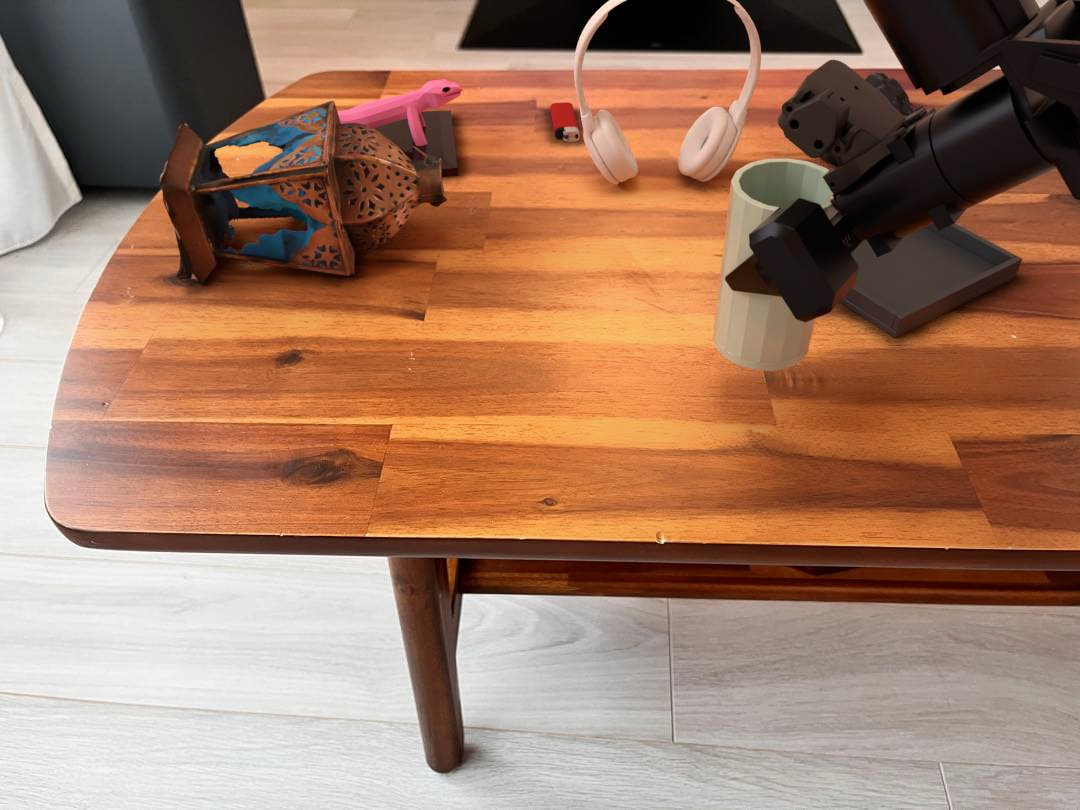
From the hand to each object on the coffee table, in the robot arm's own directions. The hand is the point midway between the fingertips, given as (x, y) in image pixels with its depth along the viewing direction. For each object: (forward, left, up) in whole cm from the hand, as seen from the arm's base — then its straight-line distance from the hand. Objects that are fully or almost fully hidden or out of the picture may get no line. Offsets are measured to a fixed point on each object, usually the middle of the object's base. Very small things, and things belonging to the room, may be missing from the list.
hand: (755, 259), depth 63 cm
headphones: (+31, -17, -13) cm, 37 cm away
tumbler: (-1, -1, -7) cm, 7 cm away
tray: (+6, -24, -12) cm, 28 cm away
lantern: (+38, +19, -13) cm, 44 cm away
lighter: (+47, -15, -13) cm, 51 cm away
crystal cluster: (+22, -41, -13) cm, 48 cm away
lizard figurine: (+54, +5, -13) cm, 55 cm away
